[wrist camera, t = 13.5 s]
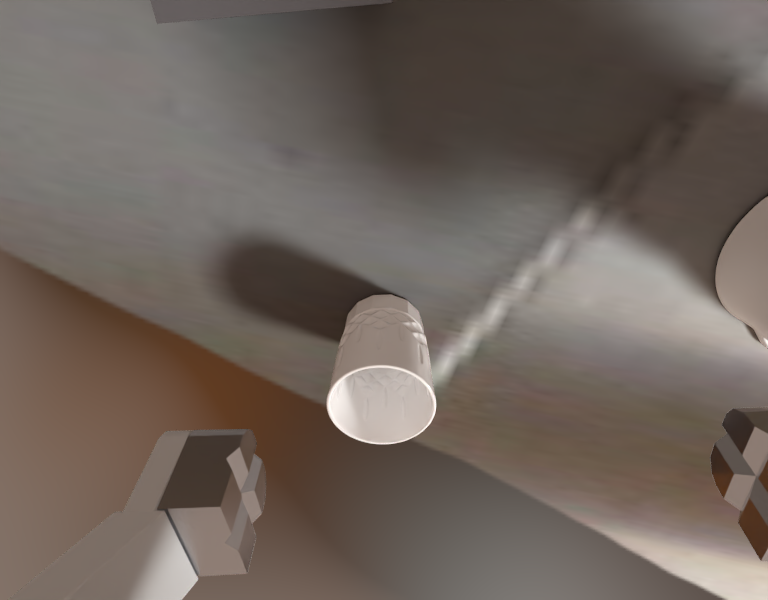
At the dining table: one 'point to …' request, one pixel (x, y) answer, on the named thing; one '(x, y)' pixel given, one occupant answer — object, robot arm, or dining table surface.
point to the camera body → (241, 7)
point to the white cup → (382, 373)
